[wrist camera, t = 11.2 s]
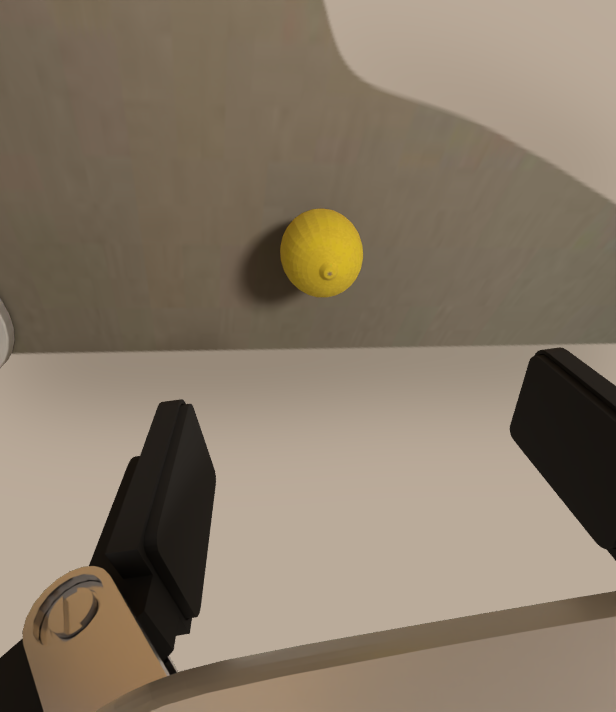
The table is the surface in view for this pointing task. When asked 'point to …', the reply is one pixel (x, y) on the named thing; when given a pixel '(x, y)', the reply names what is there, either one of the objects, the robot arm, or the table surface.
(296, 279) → the lemon
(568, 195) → the table surface
